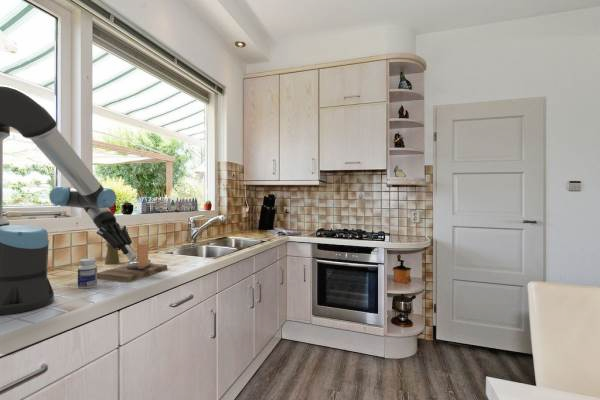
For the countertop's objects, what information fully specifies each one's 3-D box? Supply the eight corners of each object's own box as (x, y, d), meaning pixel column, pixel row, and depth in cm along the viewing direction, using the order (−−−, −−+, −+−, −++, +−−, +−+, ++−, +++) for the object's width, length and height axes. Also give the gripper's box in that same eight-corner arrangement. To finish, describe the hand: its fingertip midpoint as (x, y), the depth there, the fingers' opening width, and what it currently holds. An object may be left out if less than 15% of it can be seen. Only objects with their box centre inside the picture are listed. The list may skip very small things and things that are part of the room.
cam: (154, 270, 121) (155, 243, 121) (130, 273, 116) (130, 244, 116) (147, 261, 137) (147, 237, 137) (125, 263, 132) (125, 238, 132)
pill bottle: (82, 284, 107) (82, 257, 107) (99, 284, 108) (100, 257, 108) (74, 289, 101) (74, 261, 101) (92, 288, 103) (93, 260, 103)
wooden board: (128, 282, 112) (128, 276, 112) (94, 278, 115) (95, 272, 115) (167, 269, 133) (167, 264, 133) (137, 266, 137) (138, 261, 137)
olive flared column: (122, 262, 144) (122, 240, 144) (113, 265, 138) (113, 242, 138) (111, 261, 145) (111, 239, 145) (101, 264, 139) (102, 241, 139)
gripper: (110, 221, 130) (140, 261, 126) (82, 223, 118) (114, 268, 114) (120, 210, 129) (150, 250, 125) (93, 211, 116) (126, 255, 112)
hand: (133, 258), depth 119 cm, fingers closed
